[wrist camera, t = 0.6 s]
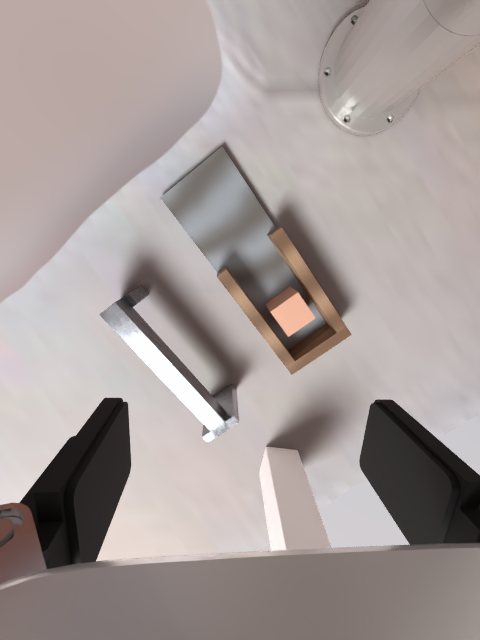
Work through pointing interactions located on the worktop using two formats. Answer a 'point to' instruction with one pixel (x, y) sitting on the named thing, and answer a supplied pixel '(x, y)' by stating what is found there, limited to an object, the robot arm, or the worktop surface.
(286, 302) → the cube
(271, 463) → the milk
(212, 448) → the worktop surface
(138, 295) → the grey long bar
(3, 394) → the worktop surface
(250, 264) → the cubby
